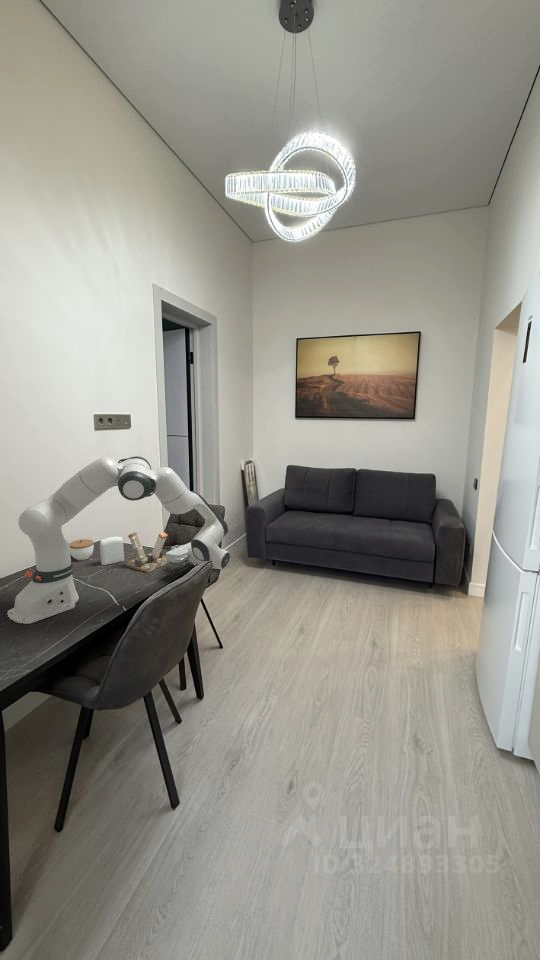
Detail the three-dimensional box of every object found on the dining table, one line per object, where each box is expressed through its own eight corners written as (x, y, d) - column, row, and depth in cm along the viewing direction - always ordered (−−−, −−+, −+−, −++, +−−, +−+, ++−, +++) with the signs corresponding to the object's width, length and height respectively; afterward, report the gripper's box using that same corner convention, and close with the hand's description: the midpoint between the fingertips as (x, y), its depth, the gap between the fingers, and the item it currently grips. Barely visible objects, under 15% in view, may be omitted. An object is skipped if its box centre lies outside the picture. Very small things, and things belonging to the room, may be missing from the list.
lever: (152, 561, 177) (162, 537, 172) (148, 557, 178) (158, 533, 173) (158, 558, 181) (168, 534, 175) (155, 555, 181) (164, 531, 176)
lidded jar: (75, 554, 189) (73, 536, 187) (97, 553, 190) (96, 535, 188) (66, 562, 178) (64, 543, 177) (90, 561, 179) (88, 542, 178)
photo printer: (102, 566, 175) (100, 540, 172) (100, 563, 178) (98, 537, 176) (125, 561, 180) (123, 536, 178) (123, 558, 184) (121, 534, 182)
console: (147, 572, 168) (145, 539, 165) (125, 566, 175) (123, 533, 172) (173, 561, 182) (172, 529, 179) (152, 555, 188) (151, 525, 186)
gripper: (180, 568, 157) (156, 561, 164) (211, 553, 174) (188, 547, 181) (180, 553, 156) (155, 547, 162) (211, 540, 173) (188, 535, 180)
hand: (173, 547), depth 172 cm, fingers closed
